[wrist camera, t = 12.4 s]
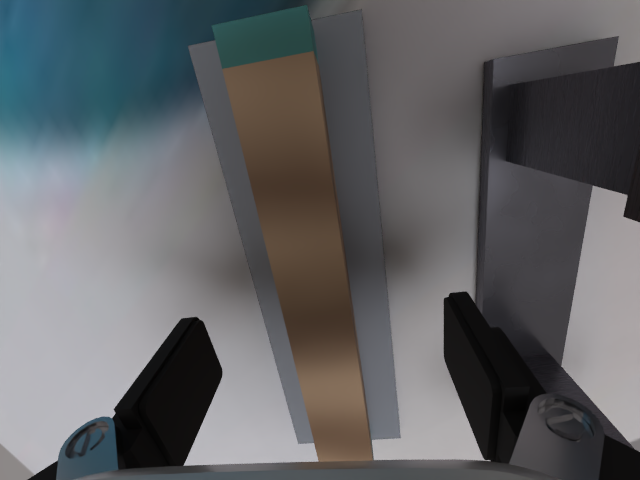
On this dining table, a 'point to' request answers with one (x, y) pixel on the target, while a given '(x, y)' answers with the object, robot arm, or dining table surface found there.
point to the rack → (550, 191)
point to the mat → (354, 206)
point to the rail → (299, 216)
